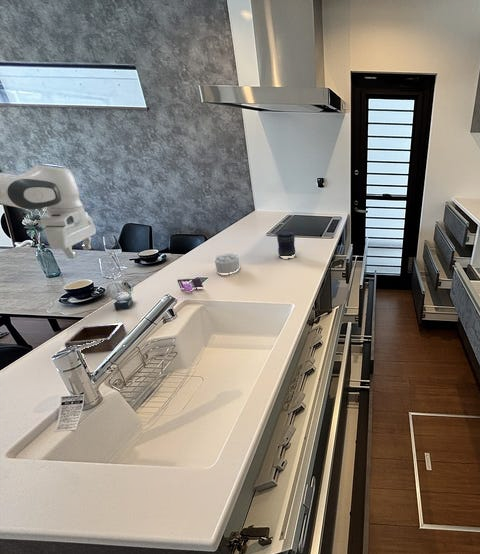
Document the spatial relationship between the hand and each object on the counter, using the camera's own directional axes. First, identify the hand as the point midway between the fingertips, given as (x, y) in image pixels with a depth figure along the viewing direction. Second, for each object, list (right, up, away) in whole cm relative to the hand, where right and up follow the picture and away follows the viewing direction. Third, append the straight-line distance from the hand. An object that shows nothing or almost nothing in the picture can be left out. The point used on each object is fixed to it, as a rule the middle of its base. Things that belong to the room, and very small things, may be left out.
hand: (80, 253), depth 108 cm
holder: (+14, -30, -8) cm, 34 cm away
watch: (+4, -20, +14) cm, 25 cm away
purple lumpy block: (+23, -15, +28) cm, 39 cm away
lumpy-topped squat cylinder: (+29, -6, +50) cm, 58 cm away
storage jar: (+54, +4, +74) cm, 92 cm away
